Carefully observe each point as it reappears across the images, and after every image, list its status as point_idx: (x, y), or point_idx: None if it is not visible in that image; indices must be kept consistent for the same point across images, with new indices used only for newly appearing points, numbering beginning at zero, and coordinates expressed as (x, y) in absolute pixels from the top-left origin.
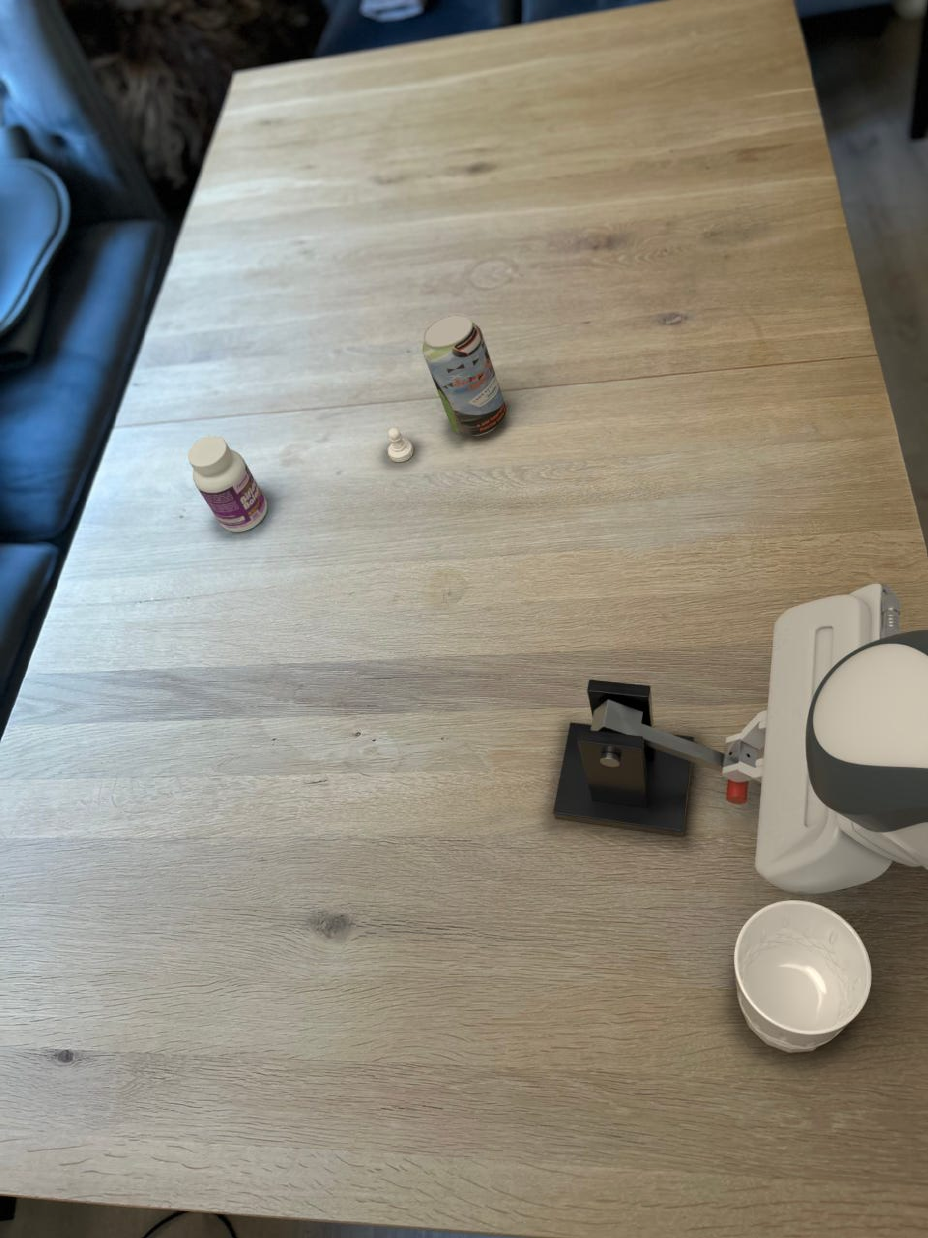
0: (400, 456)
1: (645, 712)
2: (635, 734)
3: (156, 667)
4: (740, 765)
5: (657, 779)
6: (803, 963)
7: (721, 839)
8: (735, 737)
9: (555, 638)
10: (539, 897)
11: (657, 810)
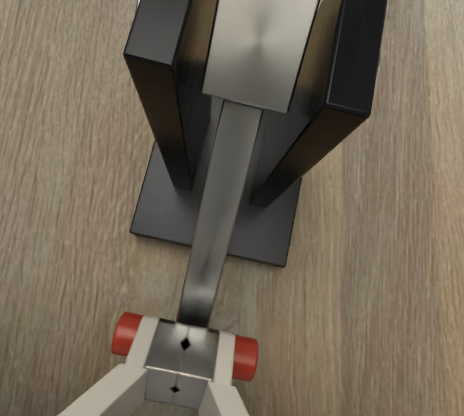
0: None
1: (294, 135)
2: (212, 80)
3: None
4: (129, 373)
5: None
6: None
7: (125, 290)
8: (223, 363)
9: (449, 91)
10: (71, 41)
11: (167, 199)
